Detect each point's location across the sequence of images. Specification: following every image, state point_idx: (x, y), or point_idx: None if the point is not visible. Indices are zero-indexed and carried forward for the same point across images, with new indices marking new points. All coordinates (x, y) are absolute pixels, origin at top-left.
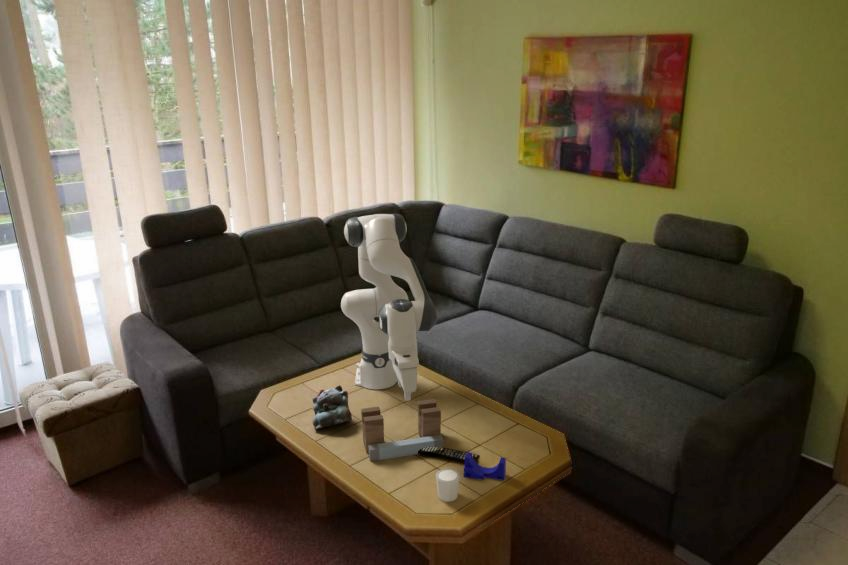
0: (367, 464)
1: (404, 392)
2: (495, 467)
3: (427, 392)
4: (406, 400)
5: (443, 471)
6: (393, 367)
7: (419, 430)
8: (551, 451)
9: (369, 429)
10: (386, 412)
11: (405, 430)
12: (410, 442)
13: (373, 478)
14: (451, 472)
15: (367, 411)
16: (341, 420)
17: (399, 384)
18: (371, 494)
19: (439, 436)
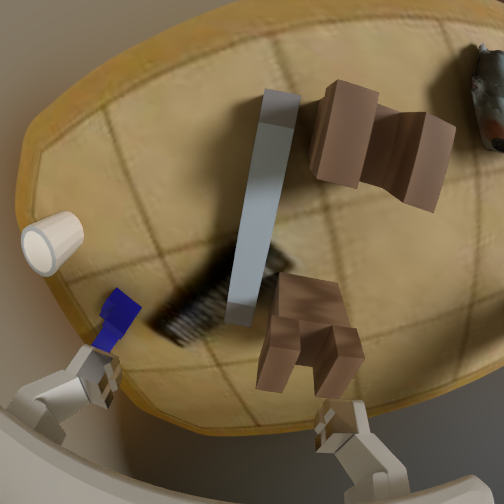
0: (253, 80)
1: (50, 390)
2: (108, 344)
3: (459, 356)
4: (87, 348)
5: (48, 250)
6: (451, 502)
7: (326, 291)
8: (163, 413)
9: (324, 104)
10: (470, 252)
11: (373, 259)
12: (248, 237)
13: (175, 79)
14: (44, 264)
15: (422, 139)
16: (478, 95)
17: (330, 418)
18: (116, 64)
19: (242, 321)
